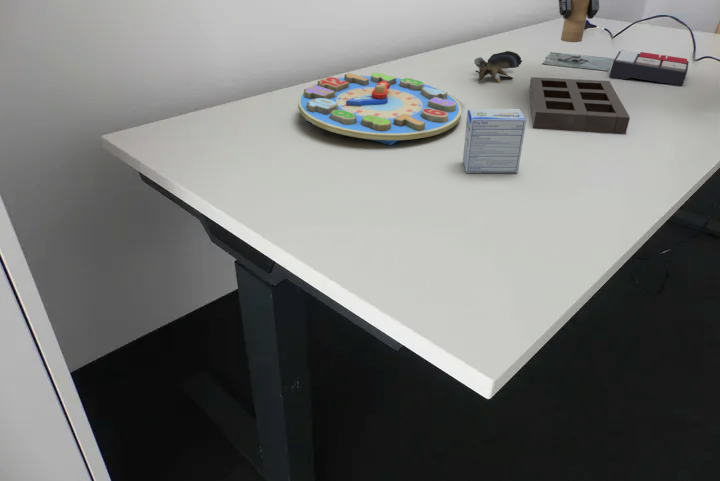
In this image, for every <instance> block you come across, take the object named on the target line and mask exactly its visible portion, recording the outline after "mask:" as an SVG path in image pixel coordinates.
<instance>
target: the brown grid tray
mask: <svg viewBox="0 0 720 481" xmlns="http://www.w3.org/2000/svg"><path fill="white" fill-rule="evenodd" d="M528 93H529V94H528V96H529V104H530V112H531V122H532V129H544V130H559V131H576V132H588V133H589V132H591V133H593V132H594V133H606V134H608V133H609V134H620V135H621V134H622V135H626V134H627V130H628V127H629V123H630V120H631V117H630V115H629V112H627V109H626V108H625V106H624V104H623V103H622V100H621V98H620V97H619V95H618V94H617V92H616V90H615V88H614V86H613V85H612V83H611V81H610V80H598V79H578V78H577V79H576V78H560V77H559V78H557V77H536V76H531V77H530V81H529V86H528Z"/></svg>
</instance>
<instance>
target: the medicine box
mask: <svg viewBox="0 0 720 481" xmlns="http://www.w3.org/2000/svg"><path fill="white" fill-rule="evenodd" d="M526 125H527V119H526V117H525V115H524V114H523V112H522V111H521V109H520V108H468V109H467V113H466V122H465V134H464V145H463V156H462V161H463V166H464V169H465V173H469V174H470V173H475V174H477V173H483V174H484V173H485V174H486V173H519V169H520V163H521V156H522V150H523V144H524V138H525V131H526V130H525V129H526V127H527V126H526Z"/></svg>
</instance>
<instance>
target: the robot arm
mask: <svg viewBox="0 0 720 481" xmlns="http://www.w3.org/2000/svg"><path fill="white" fill-rule="evenodd" d="M558 9H559V10H558V11H559V14H560V16H562V19H563V20H564V19H568V17H569V16H570V14H571V0H558ZM599 11H600V0H590V3H589V8H588V13H587V20H590V19H591V20H592V19H593V18H594V17H595V16H596V15H597V14H598V12H599Z"/></svg>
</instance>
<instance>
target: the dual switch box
mask: <svg viewBox="0 0 720 481" xmlns="http://www.w3.org/2000/svg"><path fill="white" fill-rule="evenodd" d="M689 63H690V62H689V61H688V58H684V57H678V56H671V55H665V54H657V53H651V52H645V51H641V52H638V51H632V50H626V49H622V50H620V51H618V53H617V55H616V56H615V57H614V60H613V62H612V64H611V67H610V72H609V74H608V75H609V76H608V77H609V78H615V79H620V80H629V79H637V80H643V81H650V82H655V83H660V84H661V83H662V84H666V85H673V86H679V87H681V86H683V84H684V82H685V79H686V76H687V74H688V70H689Z"/></svg>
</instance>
